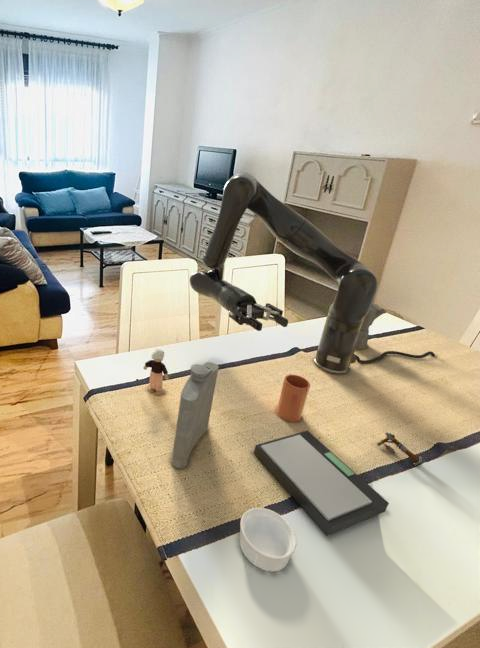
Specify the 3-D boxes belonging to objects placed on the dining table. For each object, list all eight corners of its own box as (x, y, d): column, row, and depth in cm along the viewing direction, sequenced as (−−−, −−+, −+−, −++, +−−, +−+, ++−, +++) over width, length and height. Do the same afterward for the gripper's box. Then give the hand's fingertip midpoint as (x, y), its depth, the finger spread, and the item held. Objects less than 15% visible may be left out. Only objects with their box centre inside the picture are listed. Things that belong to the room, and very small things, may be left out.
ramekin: (261, 585, 60) (266, 567, 59) (225, 534, 68) (229, 516, 66) (302, 563, 64) (308, 546, 62) (264, 517, 71) (269, 500, 69)
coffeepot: (376, 346, 135) (393, 299, 128) (368, 355, 128) (385, 306, 122) (330, 329, 145) (343, 285, 138) (321, 337, 138) (334, 291, 132)
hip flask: (182, 471, 80) (195, 392, 72) (165, 462, 82) (175, 384, 74) (209, 426, 92) (222, 355, 85) (193, 419, 94) (204, 349, 87)
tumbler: (288, 404, 102) (297, 372, 98) (305, 419, 97) (315, 386, 93) (271, 408, 100) (279, 376, 96) (287, 423, 95) (297, 390, 91)
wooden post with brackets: (374, 438, 91) (389, 428, 88) (406, 466, 87) (423, 457, 85) (372, 442, 89) (387, 432, 87) (405, 471, 86) (422, 461, 83)
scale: (304, 438, 91) (307, 428, 90) (385, 511, 74) (390, 500, 72) (253, 453, 85) (256, 442, 84) (326, 536, 68) (331, 524, 67)
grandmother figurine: (170, 390, 105) (175, 350, 100) (165, 398, 102) (170, 357, 97) (143, 381, 108) (147, 342, 103) (138, 389, 104) (142, 349, 100)
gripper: (217, 291, 110) (254, 316, 97) (257, 287, 115) (298, 310, 102) (213, 314, 113) (249, 341, 99) (252, 309, 118) (291, 335, 104)
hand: (274, 325), depth 100 cm, fingers open, 8 cm apart
